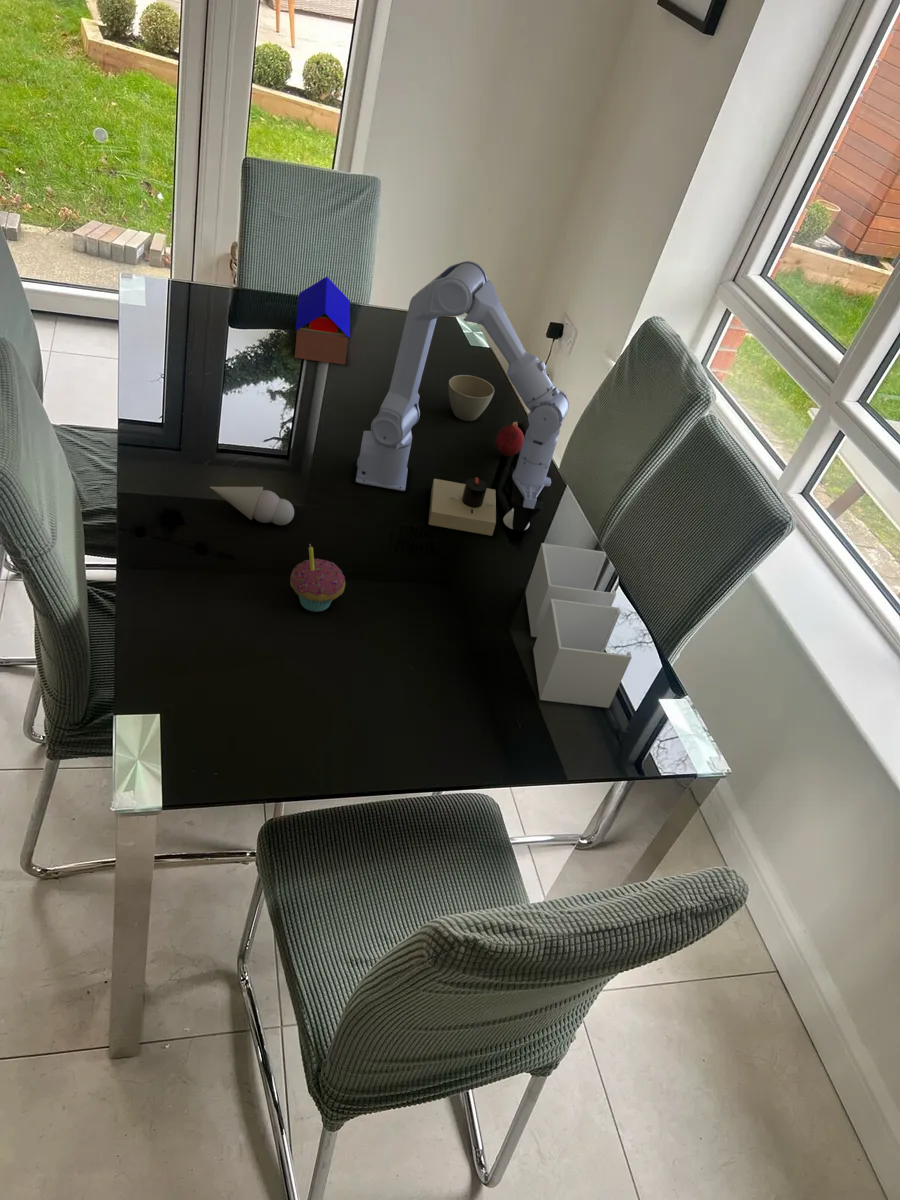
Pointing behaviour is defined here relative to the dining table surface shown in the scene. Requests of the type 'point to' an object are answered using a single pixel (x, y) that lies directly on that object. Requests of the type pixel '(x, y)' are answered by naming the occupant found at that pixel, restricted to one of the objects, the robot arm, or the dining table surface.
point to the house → (322, 323)
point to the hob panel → (461, 509)
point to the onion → (510, 440)
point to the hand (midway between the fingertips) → (517, 517)
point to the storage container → (573, 628)
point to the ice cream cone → (258, 504)
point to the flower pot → (469, 396)
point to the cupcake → (317, 582)
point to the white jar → (510, 519)
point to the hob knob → (474, 492)
